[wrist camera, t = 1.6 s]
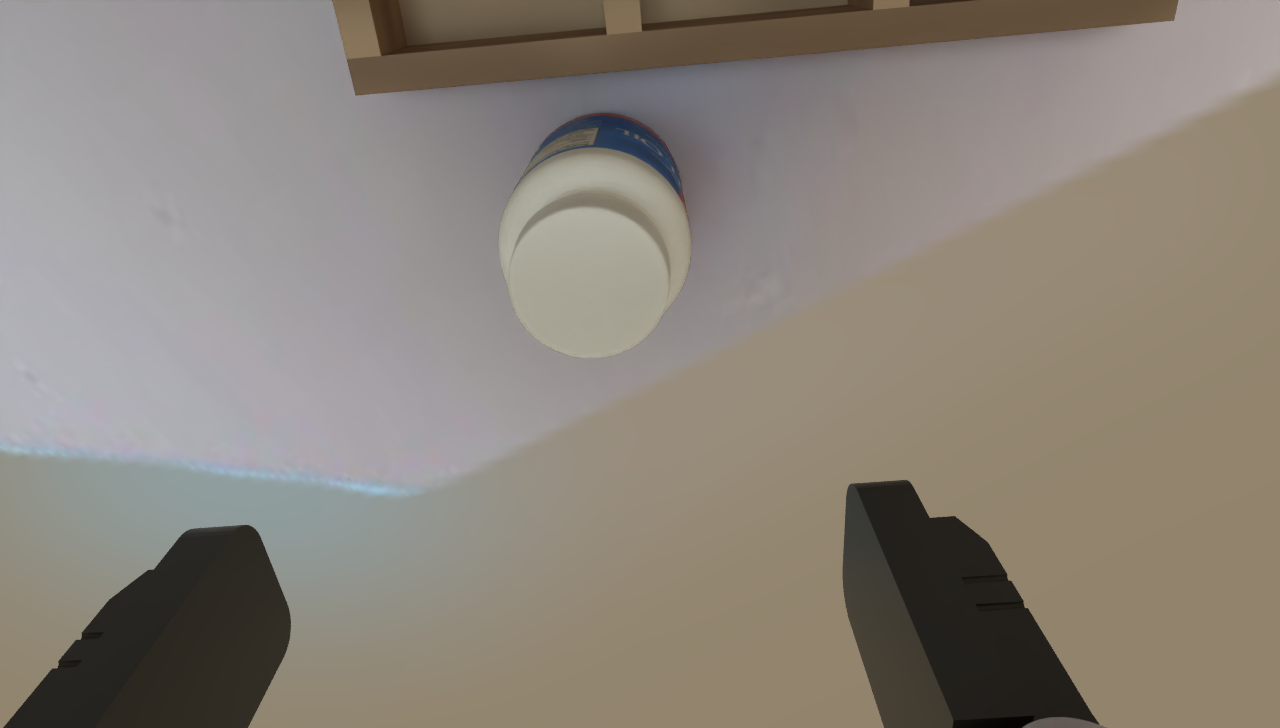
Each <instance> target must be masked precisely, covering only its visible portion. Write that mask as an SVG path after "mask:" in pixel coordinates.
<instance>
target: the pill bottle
mask: <svg viewBox="0 0 1280 728" xmlns="http://www.w3.org/2000/svg"><path fill="white" fill-rule="evenodd" d="M499 256H500V263H501V267H502V271H503V274H504V276H505V279H506V281H507V284H508V290H509V295H510V300H511V303H512V305H513V308H514V311H515V313H516V314H517V316H518V318H519V320H520V321H521V323H522V324H523V326H524V327H525V328H526V329H527V330H528V331H529V332H530V333H531V334H532V335H533V336H534V337H535V338H536V339H537V340H538V341H540V342H541V343H543V344H544V345H546V346H547V347H549V348H551V349H553V350H556V351H558V352H560V353H563V354H566V355H569V356H573V357H578V358H579V357H581V358H602V357H608V356H612V355H616V354H619V353H621V352H624V351H626V350H628V349H631V348H632V347H634V346H635V345H637V344H638V343H640V342H641V341H642V340H643V339H645V338H646V337H647V336H648V335H649V334H650V333H651V331H652V330H653V329H654V328H655V327H656V325H657V324H658V322H659V321H660V319H661V317H662V315H663V313H664V312H665V311H666V310H667V309H668V308H669V307H670V305H671V304H672V303H673V302H674V300H675V299H676V297H677V296H678V294H679V292H680V291H681V289H682V287H683V285H684V282H685V280H686V277H687V274H688V270H689V265H690V259H691V234H690V226H689V221H688V216H687V212H686V207H685V201H684V197H683V192H682V186H681V181H680V176H679V172H678V169H677V166H676V163H675V161H674V159H673V157H672V155H671V153H670V151H669V150H668V148H667V147H666V145H665V144H664V143H663V141H662V140H661V139H660V138H659V137H658V136H657V135H656V134H655V133H654V132H653V131H651V130H650V129H649V128H647V127H646V126H644V125H643V124H641V123H639V122H637V121H635V120H633V119H630V118H627V117H624V116H620V115H615V114H593V115H587V116H583V117H580V118H576V119H574V120H572V121H570V122H568V123H566V124H564V125H562V126H561V127H559V128H558V129H556V130H555V131H554V132H553V133H552V134H551V135H549V136H548V137H547V138H546V139H545V141H544V142H543V143H542V144H541V146H540V147H539V148H538V150H537V152H536V153H535V155H534V156H533V158H532V160H531V162H530V164H529V165H528V167H527V169H526V170H525V172H524V174H523V176H522V177H521V179H520V181H519V183H518V184H517V185H516V187H515V189H514V191H513V193H512V195H511V197H510V199H509V201H508V203H507V205H506V207H505V210H504V212H503V216H502V219H501V223H500V229H499Z"/></svg>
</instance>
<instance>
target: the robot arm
mask: <svg viewBox="0 0 1280 728" xmlns="http://www.w3.org/2000/svg"><path fill="white" fill-rule="evenodd" d="M843 588H844V597H845V603H846V608H847V613H848V617H849V621H850V623H851V627H852V630H853V633H854V636H855V639H856V642H857V645H858V648H859V651H860V654H861V658H862V661H863V664H864V667H865V670H866V673H867V676H868V679H869V682H870V685H871V688H872V692H873V695H874V697H875V701H876V704H877V707H878V710H879V713H880V716H881V719H882V722H883V725H884V728H1106V727H1104V726H1100V725H1099V723H1098V722H1097V720H1096V719H1095V717H1094V716H1093V715H1092V713H1091V711H1090V710H1089V708H1088V706H1087V705H1086V703H1085V702H1084V700H1083V698H1082V697H1081V695H1080V693H1079V692H1078V691H1077V688H1076V687H1075V685H1074V683H1073V682H1072V680H1071V679H1070V677H1069V675H1068V674H1067V672H1066V670H1065V669H1064V667H1063V665H1062V664H1061V662H1060V661H1059V659H1058V658H1057V655H1056V654H1055V652H1054V651H1053V649H1052V647H1051V646H1050V644H1049V642H1048V641H1047V639H1046V637H1045V636H1044V634H1043V632H1042V631H1041V629H1040V628H1039V626H1038V624H1037V623H1036V621H1035V620H1034V618H1033V616H1032V614H1031V613H1030V611H1029V609H1028V608H1025V607H1024V604H1023V602H1024V601H1023V599H1022V598H1021V596H1020V595H1019V593H1018V591H1017V590H1016V588H1015V586H1014V585H1013V583H1012V581H1008V579H1007V573H1006V572H1005V570H1004V569H1003V567H1002V565H1001V563H1000V562H999V560H998V558H997V557H996V555H995V553H994V552H993V551H992V548H991V547H990V545H989V544H988V542H987V541H985V540H984V539H983V538H982V537H980V536H979V535H978V534H977V533H975V532H974V531H973V530H972V529H970V528H969V527H968V526H966V525H965V524H964V523H963V522H961V521H960V520H959V519H957V518H956V517H955V516H951V517H937V518H929V516H928V514H927V512H926V510H925V508H924V506H923V504H922V502H921V501H920V499H919V497H918V495H917V493H916V491H915V489H914V488H913V486H912V484H911V483H910V482H909V481H907V480H899V481H884V482H870V483H856V484H850V485H849V487H848V490H847V496H846V515H845V535H844V554H843ZM290 630H291V620H290V612H289V608H288V605H287V602H286V600H285V597H284V595H283V592H282V590H281V587H280V585H279V582H278V580H277V577H276V575H275V572H274V570H273V567H272V565H271V562H270V560H269V557H268V555H267V552H266V550H265V547H264V545H263V542H262V540H261V537H260V535H259V534H258V532H257V531H256V530H255V529H254V528H253V527H251V526H249V525H238V526H224V527H211V528H198V529H197V528H196V529H190V530H188V531H186V532H185V533H184V534H182V535H181V537H180V538H179V539H178V540H177V541H176V543H175V544H174V545H173V546H172V548H171V549H170V550H169V551H168V553H167V554H166V555H165V556H164V558H163V559H162V560H161V561H160V563H159V564H158V565H157V566H156V568H155V569H154V570H148V571H146V572H145V573H144V574H142V575H141V576H140V577H138V578H137V579H136V580H135V581H133V582H132V583H131V584H129V585H128V586H127V587H125V588H124V589H123V590H121V591H120V592H119V593H118V594H116V595H115V596H114V597H112V598H111V599H110V600H109V601H108V602H107V603H106V604H105V606H104V607H103V608H102V609H101V610H100V612H99V613H98V614H97V615H96V617H95V618H94V619H93V620H92V621H91V623H90V624H89V625H88V626H87V627H86V629H85V630H84V631H83V632H82V638H81V640H76V641H75V642H74V643H73V644H72V646H71V647H70V648H69V649H68V650H67V652H66V653H65V654H64V655H63V656H62V658H61V659H60V660H59V661H58V662H59V666H58V668H57V669H52V670H51V671H50V672H49V673H48V675H47V676H46V677H45V678H44V679H43V681H42V682H41V683H40V684H39V685H38V686H37V688H36V689H35V690H34V691H33V693H32V694H31V695H30V696H29V697H28V699H27V700H26V701H25V702H24V703H23V705H22V706H21V707H20V708H19V709H18V711H17V712H16V713H15V714H14V716H13V717H12V718H11V719H10V721H9V722H8V723H7V724H6V725H5V726H4V728H248V726H249V724H250V722H251V720H252V718H253V716H254V715H255V713H256V711H257V709H258V707H259V705H260V703H261V701H262V699H263V697H264V695H265V693H266V691H267V689H268V687H269V685H270V683H271V681H272V679H273V677H274V675H275V673H276V671H277V669H278V667H279V665H280V663H281V661H282V659H283V657H284V655H285V653H286V650H287V647H288V643H289V639H290Z"/></svg>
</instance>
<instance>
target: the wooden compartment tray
mask: <svg viewBox="0 0 1280 728" xmlns="http://www.w3.org/2000/svg"><path fill="white" fill-rule="evenodd" d="M332 1H333V5H334V9H335V13H336V17H337V21H338V25H339V30H340V34H341V38H342V42H343V46H344V50H345V54H346V58H347V62H348V66H349V70H350V74H351V78H352V82H353V86H354V91H355V95H366V94H377V93H388V92H399V91H410V90H421V89H432V88H443V87H454V86H465V85H475V84H486V83H497V82H508V81H519V80H530V79H541V78H552V77H563V76H574V75H585V74H595V73H606V72H617V71H628V70H639V69H650V68H661V67H672V66H683V65H694V64H705V63H715V62H726V61H737V60H748V59H759V58H770V57H781V56H792V55H803V54H814V53H825V52H835V51H846V50H857V49H868V48H879V47H890V46H901V45H912V44H923V43H934V42H945V41H955V40H966V39H977V38H988V37H999V36H1010V35H1021V34H1032V33H1043V32H1054V31H1065V30H1075V29H1086V28H1097V27H1108V26H1119V25H1130V24H1141V23H1152V22H1163V21H1174V18H1175V14H1176V9H1177V4H1178V0H332Z"/></svg>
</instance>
